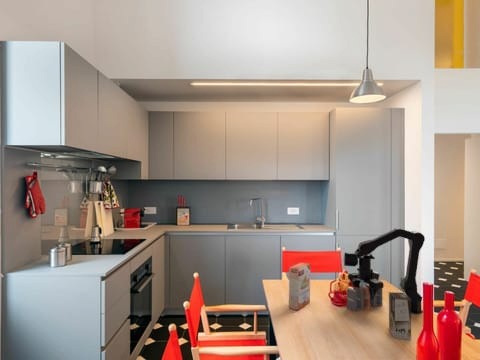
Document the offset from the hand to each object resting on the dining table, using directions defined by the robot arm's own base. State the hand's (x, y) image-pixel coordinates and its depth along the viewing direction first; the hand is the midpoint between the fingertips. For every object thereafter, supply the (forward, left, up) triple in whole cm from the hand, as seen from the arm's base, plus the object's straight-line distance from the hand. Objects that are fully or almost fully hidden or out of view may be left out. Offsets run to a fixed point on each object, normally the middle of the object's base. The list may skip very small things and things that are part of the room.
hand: (364, 297), depth 159 cm
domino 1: (0, +9, -5) cm, 10 cm away
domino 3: (0, 0, -5) cm, 5 cm away
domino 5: (0, -9, -5) cm, 10 cm away
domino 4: (0, -4, -5) cm, 7 cm away
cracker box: (+15, +30, -5) cm, 34 cm away
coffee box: (-28, +10, -5) cm, 30 cm away
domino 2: (0, +5, -5) cm, 7 cm away
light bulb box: (+20, -24, -5) cm, 32 cm away
